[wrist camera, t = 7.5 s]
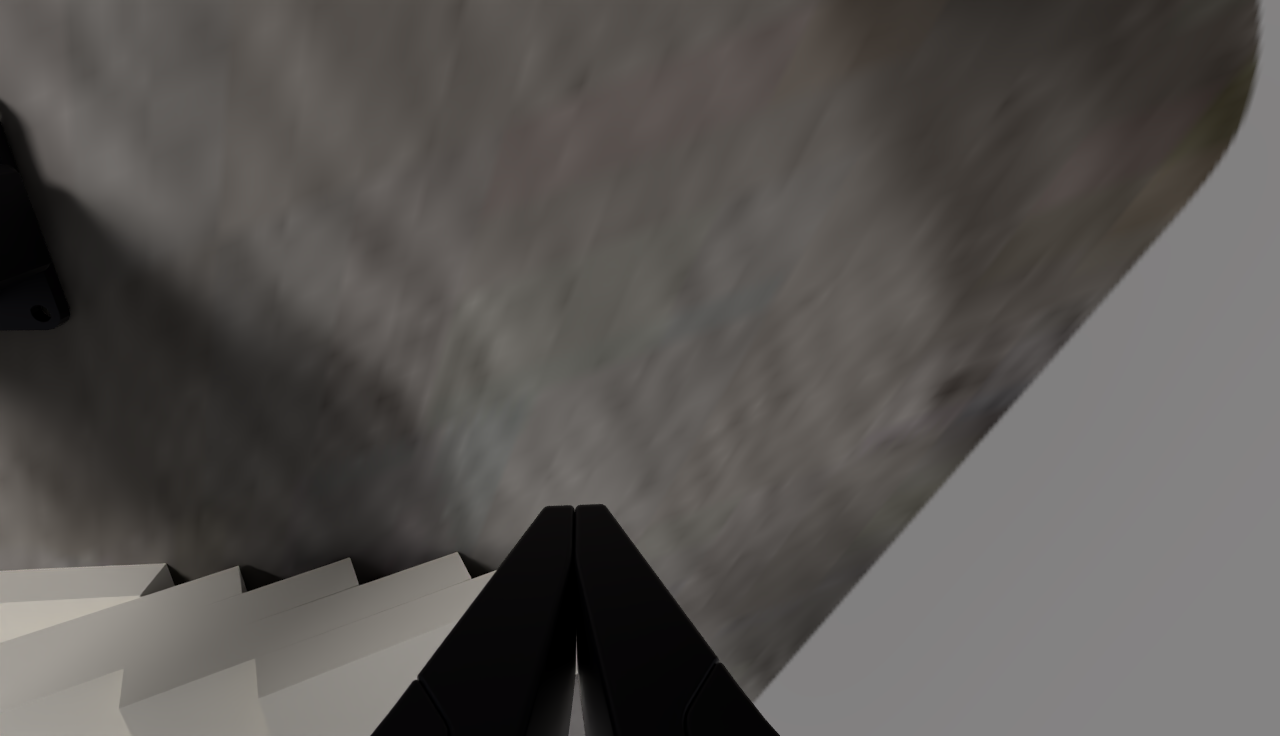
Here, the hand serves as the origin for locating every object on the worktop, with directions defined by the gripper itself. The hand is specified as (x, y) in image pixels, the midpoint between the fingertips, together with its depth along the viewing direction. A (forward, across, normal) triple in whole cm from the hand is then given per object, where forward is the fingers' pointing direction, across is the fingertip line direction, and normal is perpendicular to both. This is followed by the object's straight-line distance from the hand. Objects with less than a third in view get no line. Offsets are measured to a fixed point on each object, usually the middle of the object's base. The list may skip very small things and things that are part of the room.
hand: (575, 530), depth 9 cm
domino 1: (+11, +1, +13) cm, 17 cm away
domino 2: (+11, +4, +13) cm, 18 cm away
